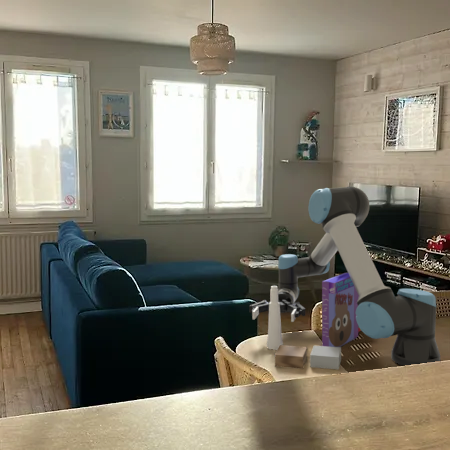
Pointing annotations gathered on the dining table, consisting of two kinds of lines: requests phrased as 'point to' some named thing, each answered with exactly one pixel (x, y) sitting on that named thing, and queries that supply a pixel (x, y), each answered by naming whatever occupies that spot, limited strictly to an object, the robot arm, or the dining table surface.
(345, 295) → the cereal box
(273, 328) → the cosmetic bottle
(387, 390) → the dining table surface
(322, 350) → the grey stand
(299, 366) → the walnut stand
